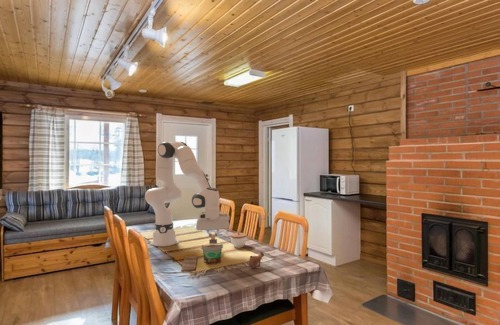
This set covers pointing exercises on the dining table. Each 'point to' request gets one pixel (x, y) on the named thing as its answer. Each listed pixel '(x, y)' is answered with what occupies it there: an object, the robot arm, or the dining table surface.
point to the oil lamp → (255, 260)
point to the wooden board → (189, 264)
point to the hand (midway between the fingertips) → (213, 236)
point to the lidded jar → (238, 239)
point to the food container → (212, 253)
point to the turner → (213, 239)
